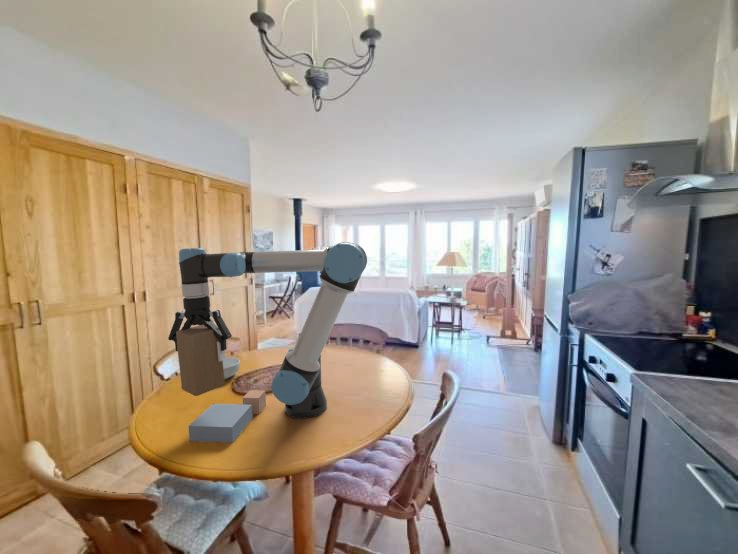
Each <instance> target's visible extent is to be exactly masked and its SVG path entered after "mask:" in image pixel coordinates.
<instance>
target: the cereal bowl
mask: <svg viewBox="0 0 738 554" xmlns="http://www.w3.org/2000/svg"><path fill="white" fill-rule="evenodd" d="M240 367H241V360H240V359H239V358H237V357H233V356H225V359H224V360H223V369H224V380H227V379H229V378H230V377H232V376H234V375H235V374H237V373H238V371H239V370H240Z"/></svg>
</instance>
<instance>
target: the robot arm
mask: <svg viewBox="0 0 738 554" xmlns="http://www.w3.org/2000/svg"><path fill="white" fill-rule="evenodd" d="M178 256H179V257H178V260H179V261H178V264H179V270H180V278H181V279H180V280H181V293H182V295H181V296H182V297H184V298H183V299H182V302H183V309H184V310H180V311H177V312H175V316H174V317H175V319H174V322H173V325H172V326H171V330H170V331H169V332H170V333H169V335H168V337H167V339H168V341H173V342H174V347H175V351H176V352H178V347H177V338H176V332H177V331H179V330H185V329H188V328H191V327H193V326H200V325H204V326H205V327H207V328H208V329H211V330H212V331H213V334H214V335H215V336H216V338H217V339H218V340H219V341H218V342H217V349H218V360H219V362H221V361H222V360H224V359H225V357H226V355H225V353H226V352H225V351H227V340H228V339H230V338H232V333H231V331H230V330H229V328H228V326H227V324H226V323H225V321H224V320H223V316H221V311H220V310H219V309H217V310H212V311H211V301H210V300H211V299H210V296H209V293H210V291H209V290H210V289H209V278H234V277H235V278H236V277H241V276H243V274H260V273H262V274H266V273H300V272H302V273H307V272H320V275H319V279H320V282H321V285H320V288H319V290H318V292H317V294H316V297H315V298H314V302H313V303H312V306H311V308H310V310H309V313H308V315H307V318H306V319H305V322H304V325H303V326H302V329H301V331H300V334H299V336H298V338H297V341H296V343H295V345H294V346H293V347H291V348H288V351H287V353H286V354H285V355H284V359H283V361H282V363H281V364H280V365H281V366H280V368H279V370H278V371H277V373H276V374H275V375H274V376H273V378H272V382H271V392H272V393H273V396H274V397H275V398H276V400H278V401H279V402H280V403H282V404H284V408H285V413H286V415H287V416H289V417H291V418H295V419H310V418H315V417H317V416H319V415H321V414H322V413H324V412H325V411H326V409H327V408H328V407H327V406H328V405H327V404H328V403H327V402H328V401H327V398H326V395H325V392H324V389H323V386H322V359H321V358H322V352H323V350H324V348H325V346H326V343H327V341H328V339H329V336H330V334H331V332H332V330H333V327H334V325H335V323H336V321H337V318H338V317H339V314H340V312H341V310H342V307H343V305H344V303H345V301H346V298H347V296H348V295H349V294H352V293H354V292H355V289H356V287H357V285H358V283H359V281H360V278H361V276H362V275H363V273H364V270H365V269H366V267H367V263H368V257H367V254H366V251H365V250H364V248H363V247H362V246H360V245H359V244H357V243H353V242H349V241H345V242H343V241H342V242H339V243H336V244H334V245H333V246H331V245H330V246H327V247H326V248H325V249H304V250H303V249H300V250H299V249H298V250H277V251H276V250H275V251H273V250H271V251H250V252H249V251H240V252H225V253H222V252H220V253H207V252H206V249H205V248H204V247H195V248H182V249H181V248H180V250H179V252H178ZM184 318H185V319H186V320H185V322H184V323H183V321H184ZM214 322H215V323H214ZM182 324H183V325H182ZM216 328H219V330H217V329H216ZM177 358H178V359H179V357H178V356H177Z"/></svg>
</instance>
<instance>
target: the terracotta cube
mask: <svg viewBox="0 0 738 554" xmlns="http://www.w3.org/2000/svg"><path fill="white" fill-rule="evenodd" d="M266 399H267V396H266V390H257V389H256V390H255V389H254V390H253V389H250V390H249V391H247V392H246V393H245V395H244V396H243V397H242V404H245V405H252V415H260V414H261V413H262V411H263V410H264V409H265V408H266V406H267V400H266Z"/></svg>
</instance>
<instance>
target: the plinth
mask: <svg viewBox="0 0 738 554" xmlns="http://www.w3.org/2000/svg"><path fill="white" fill-rule="evenodd" d="M253 416H254V415H253V414H252V405H245V404H243V403H242V404H238V403H237V404H235V403H213V404H212V405H210V406H209V407H208V408H206V409H205V411H203V412H202V413H200V415H199V416H198V417H196V419H195V420H193V421H192V422H191V423H190V424H188V438H189V440H188V441H189V442H205V443H230V444H231V443H234V442H235V441H236V439H237V438H238V437H239V436H240V435H241V433H242V432H243V431H244V430H245V428H246V427H247V426H248V425H249V423H250V422H251V421H252V420H253V419H254V418H253Z"/></svg>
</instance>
